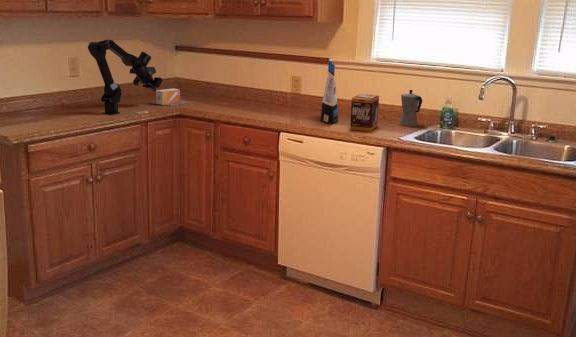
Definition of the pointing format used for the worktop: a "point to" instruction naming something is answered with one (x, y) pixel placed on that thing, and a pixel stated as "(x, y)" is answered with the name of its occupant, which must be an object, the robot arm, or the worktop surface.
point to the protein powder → (330, 98)
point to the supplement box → (364, 112)
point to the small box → (168, 96)
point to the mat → (170, 104)
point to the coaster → (141, 112)
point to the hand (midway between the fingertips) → (155, 90)
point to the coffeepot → (410, 109)
